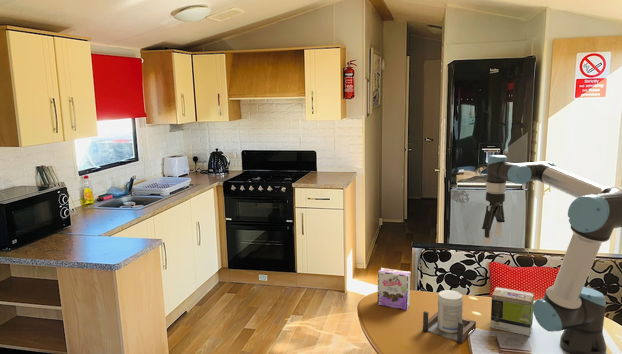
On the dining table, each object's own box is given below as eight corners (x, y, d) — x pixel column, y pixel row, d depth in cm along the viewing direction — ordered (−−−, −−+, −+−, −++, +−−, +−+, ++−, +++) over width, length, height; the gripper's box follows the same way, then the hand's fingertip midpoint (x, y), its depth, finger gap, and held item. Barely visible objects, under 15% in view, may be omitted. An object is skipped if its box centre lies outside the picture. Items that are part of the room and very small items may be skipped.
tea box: (532, 326, 195) (535, 292, 193) (529, 337, 187) (532, 302, 184) (494, 318, 203) (495, 285, 200) (489, 328, 194) (491, 294, 192)
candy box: (377, 305, 216) (377, 271, 213) (380, 300, 221) (380, 267, 218) (407, 310, 211) (408, 275, 208) (409, 305, 216) (410, 271, 213)
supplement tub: (466, 329, 192) (468, 295, 189) (450, 336, 187) (452, 301, 184) (447, 320, 200) (449, 287, 197) (432, 326, 195) (433, 293, 192)
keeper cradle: (476, 328, 194) (477, 310, 193) (461, 344, 182) (462, 324, 181) (438, 316, 204) (439, 299, 203) (421, 330, 193) (422, 312, 191)
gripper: (496, 186, 211) (493, 232, 214) (475, 196, 192) (473, 246, 195) (514, 188, 206) (511, 235, 210) (494, 198, 187) (491, 249, 191)
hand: (492, 240), depth 203 cm, fingers open, 13 cm apart
